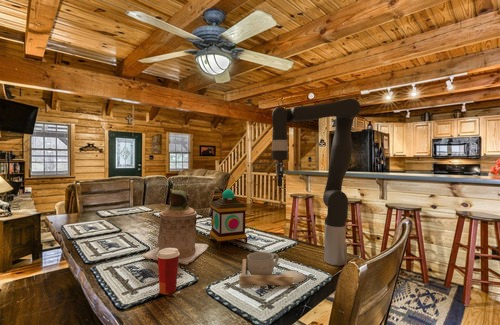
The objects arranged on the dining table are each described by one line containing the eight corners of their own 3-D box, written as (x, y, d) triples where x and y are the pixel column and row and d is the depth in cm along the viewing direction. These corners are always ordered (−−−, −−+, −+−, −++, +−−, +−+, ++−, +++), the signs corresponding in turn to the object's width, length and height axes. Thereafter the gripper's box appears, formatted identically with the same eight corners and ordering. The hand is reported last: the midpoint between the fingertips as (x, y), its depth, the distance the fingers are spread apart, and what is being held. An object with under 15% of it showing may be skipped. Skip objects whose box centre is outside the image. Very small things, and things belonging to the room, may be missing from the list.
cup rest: (286, 266, 111) (286, 259, 111) (292, 285, 94) (292, 277, 94) (241, 265, 111) (241, 258, 111) (239, 284, 94) (239, 276, 94)
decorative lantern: (206, 238, 150) (206, 187, 150) (237, 234, 158) (237, 186, 158) (216, 249, 132) (217, 191, 132) (250, 244, 140) (251, 190, 140)
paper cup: (181, 285, 93) (181, 247, 93) (176, 296, 85) (176, 254, 85) (160, 285, 93) (160, 247, 93) (152, 296, 85) (153, 254, 85)
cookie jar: (190, 265, 111) (190, 192, 111) (139, 260, 116) (140, 190, 115) (210, 247, 135) (210, 187, 135) (167, 243, 140) (168, 185, 140)
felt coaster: (302, 271, 106) (302, 270, 106) (307, 283, 96) (307, 282, 96) (278, 271, 106) (278, 270, 106) (281, 282, 96) (281, 281, 96)
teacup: (252, 283, 96) (252, 261, 96) (243, 271, 106) (244, 252, 106) (285, 278, 100) (285, 258, 100) (274, 267, 110) (274, 248, 110)
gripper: (289, 149, 114) (289, 187, 114) (285, 150, 127) (285, 185, 127) (273, 149, 114) (273, 187, 114) (270, 150, 127) (270, 185, 127)
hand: (279, 186), depth 121 cm, fingers closed
